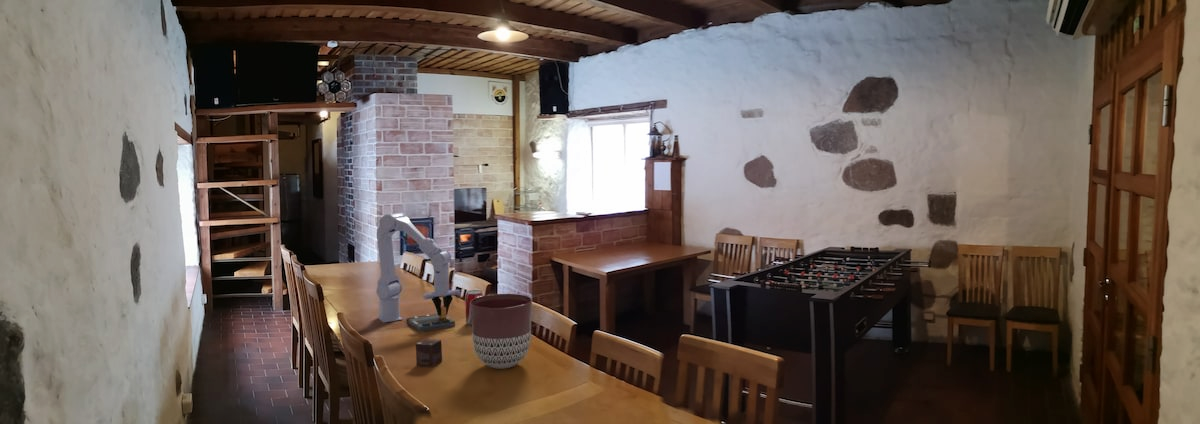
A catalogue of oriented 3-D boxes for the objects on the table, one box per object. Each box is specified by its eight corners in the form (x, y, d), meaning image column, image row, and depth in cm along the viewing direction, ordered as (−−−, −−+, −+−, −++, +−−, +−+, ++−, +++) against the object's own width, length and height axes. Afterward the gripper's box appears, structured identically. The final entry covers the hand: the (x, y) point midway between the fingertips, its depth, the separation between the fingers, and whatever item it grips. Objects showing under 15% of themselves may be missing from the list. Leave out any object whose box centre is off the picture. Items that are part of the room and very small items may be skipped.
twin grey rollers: (405, 321, 256) (405, 317, 256) (436, 316, 263) (436, 313, 263) (408, 323, 253) (408, 319, 253) (439, 318, 260) (439, 314, 260)
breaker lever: (438, 316, 254) (438, 306, 253) (443, 316, 255) (443, 305, 254) (441, 318, 251) (441, 307, 251) (446, 317, 252) (446, 307, 252)
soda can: (486, 321, 256) (485, 289, 255) (481, 326, 249) (480, 293, 247) (469, 321, 256) (468, 289, 255) (463, 325, 249) (462, 293, 248)
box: (442, 361, 207) (442, 339, 207) (432, 367, 202) (431, 345, 201) (426, 359, 209) (426, 338, 209) (415, 365, 204) (415, 343, 203)
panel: (408, 323, 253) (408, 317, 252) (442, 318, 260) (442, 312, 260) (420, 332, 241) (419, 325, 241) (455, 326, 249) (454, 319, 249)
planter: (515, 380, 190) (513, 310, 188) (459, 372, 197) (457, 305, 195) (543, 360, 208) (542, 296, 206) (491, 353, 215) (489, 291, 213)
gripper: (427, 285, 244) (428, 319, 246) (462, 280, 252) (463, 314, 254) (421, 282, 250) (422, 315, 251) (456, 278, 258) (456, 310, 260)
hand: (442, 314), depth 253 cm, fingers closed on breaker lever, 2 cm apart
